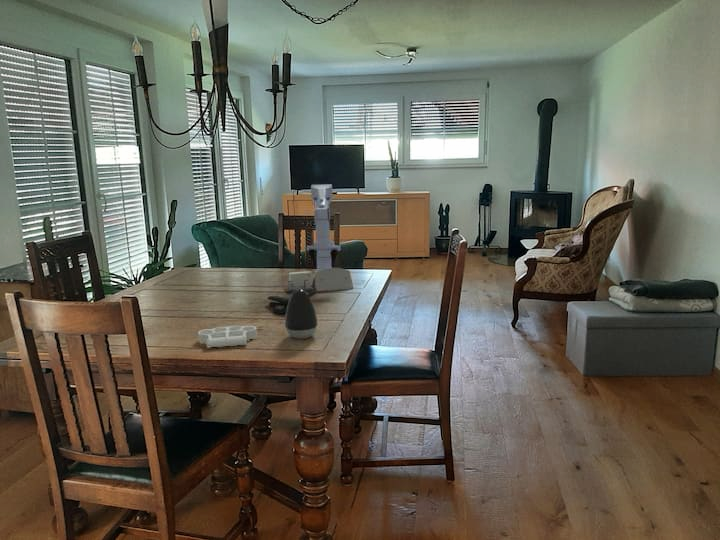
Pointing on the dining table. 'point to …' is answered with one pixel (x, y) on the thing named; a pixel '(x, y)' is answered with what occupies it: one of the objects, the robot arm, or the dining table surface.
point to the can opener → (278, 306)
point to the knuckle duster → (227, 336)
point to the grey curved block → (333, 279)
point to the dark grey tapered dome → (301, 315)
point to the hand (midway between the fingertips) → (324, 266)
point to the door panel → (300, 277)
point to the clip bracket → (293, 288)
